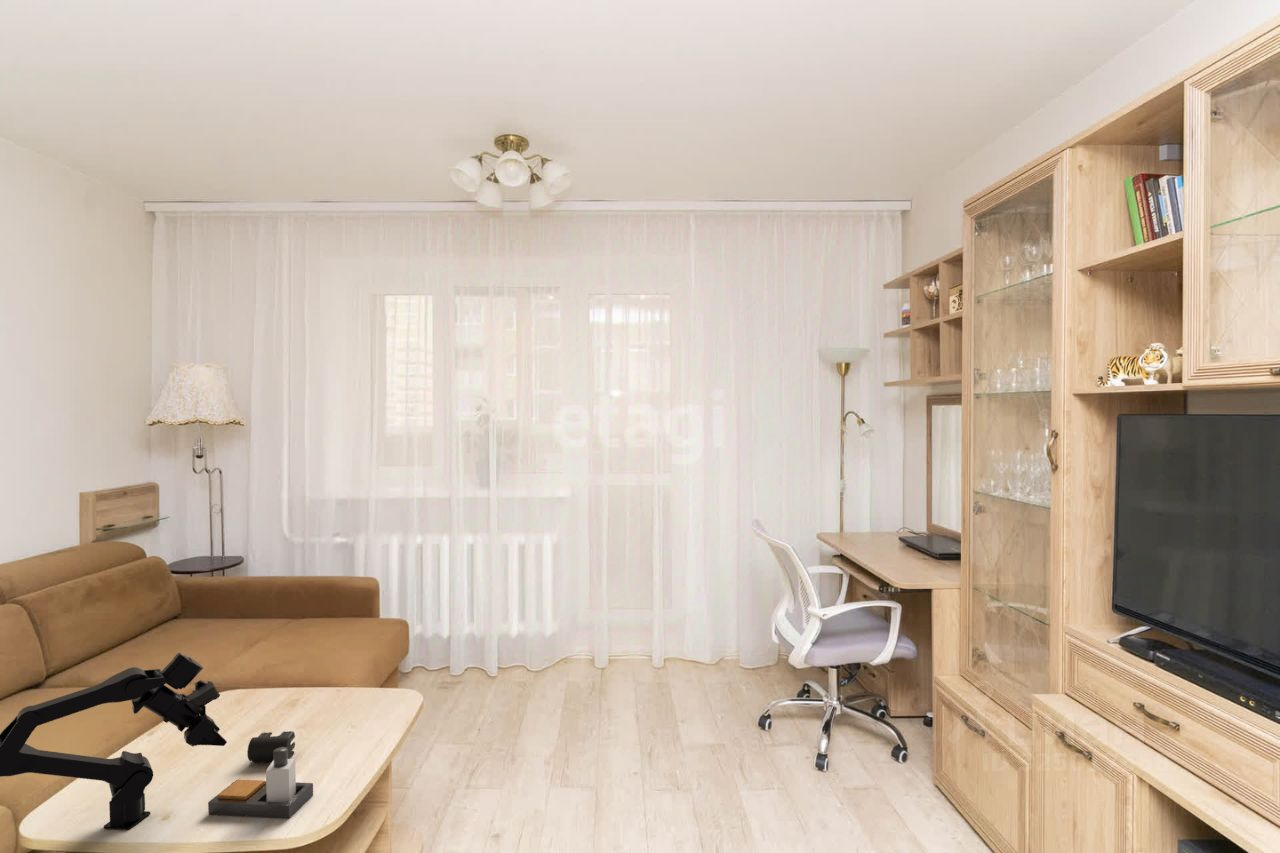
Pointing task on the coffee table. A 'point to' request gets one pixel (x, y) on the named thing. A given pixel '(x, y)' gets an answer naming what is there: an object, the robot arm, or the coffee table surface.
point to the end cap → (269, 746)
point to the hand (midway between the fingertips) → (221, 737)
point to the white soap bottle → (281, 777)
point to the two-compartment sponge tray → (256, 800)
